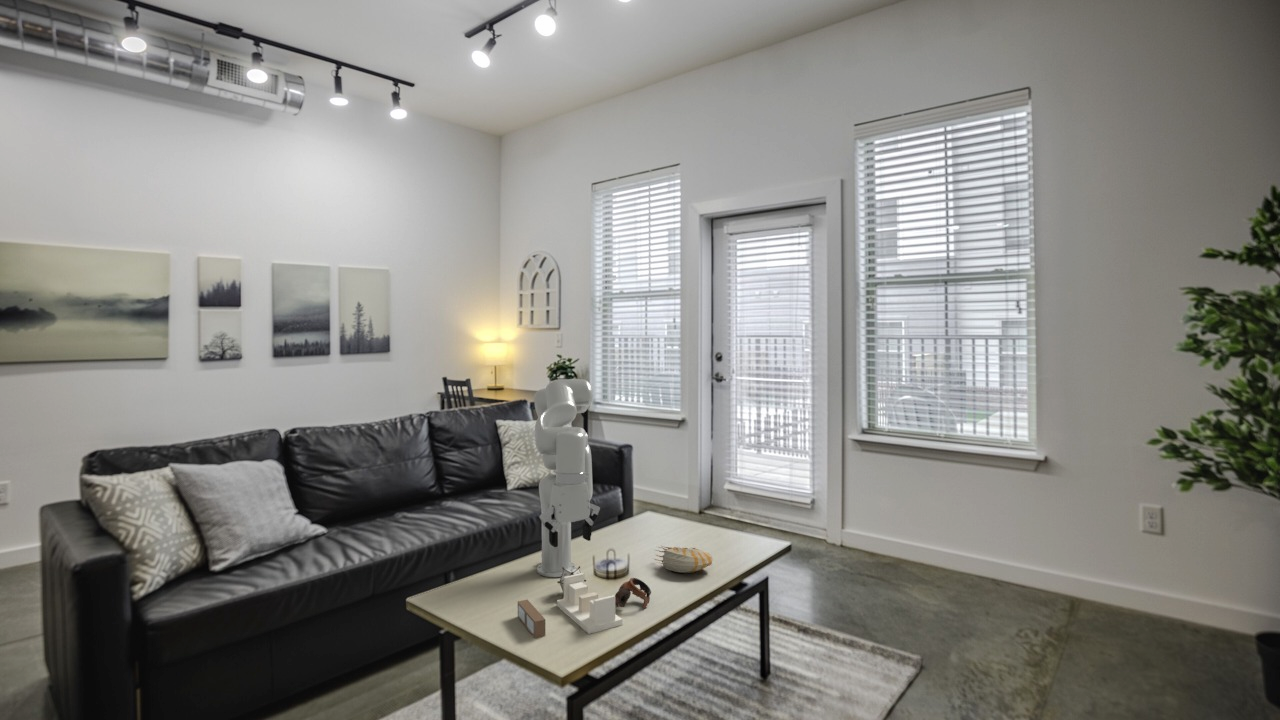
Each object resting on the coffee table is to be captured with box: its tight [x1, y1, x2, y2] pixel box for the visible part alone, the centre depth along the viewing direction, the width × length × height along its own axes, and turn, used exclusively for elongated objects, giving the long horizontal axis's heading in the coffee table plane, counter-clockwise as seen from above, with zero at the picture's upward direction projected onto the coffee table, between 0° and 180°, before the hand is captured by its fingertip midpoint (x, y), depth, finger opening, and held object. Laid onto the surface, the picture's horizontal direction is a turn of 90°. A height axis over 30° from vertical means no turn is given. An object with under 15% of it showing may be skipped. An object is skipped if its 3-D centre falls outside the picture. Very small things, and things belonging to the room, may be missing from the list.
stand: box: [556, 572, 623, 635], centre depth 173 cm, size 20×10×8 cm, turn 32°
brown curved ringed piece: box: [614, 577, 652, 609], centre depth 178 cm, size 12×10×8 cm
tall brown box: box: [517, 598, 546, 639], centre depth 166 cm, size 14×3×4 cm, turn 29°
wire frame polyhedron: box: [556, 565, 588, 598], centre depth 186 cm, size 9×8×10 cm
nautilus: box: [653, 545, 713, 574], centre depth 208 cm, size 8×22×15 cm
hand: (570, 542), depth 165 cm, fingers open, 9 cm apart
